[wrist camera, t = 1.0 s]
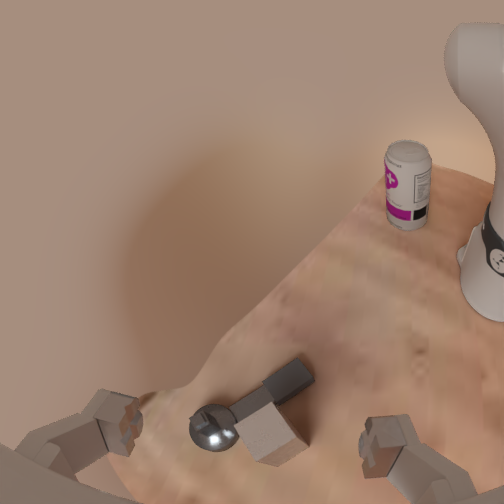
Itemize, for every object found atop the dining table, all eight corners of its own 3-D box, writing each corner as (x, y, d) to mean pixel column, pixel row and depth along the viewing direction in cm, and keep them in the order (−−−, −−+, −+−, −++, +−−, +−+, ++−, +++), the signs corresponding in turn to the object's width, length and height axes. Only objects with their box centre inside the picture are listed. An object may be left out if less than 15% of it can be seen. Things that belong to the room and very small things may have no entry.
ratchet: (207, 459, 38) (186, 454, 33) (188, 421, 43) (166, 410, 38) (321, 389, 41) (315, 374, 36) (293, 354, 46) (284, 335, 41)
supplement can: (389, 234, 55) (388, 166, 44) (384, 204, 60) (380, 139, 49) (431, 231, 52) (437, 163, 42) (422, 202, 57) (424, 136, 47)
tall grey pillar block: (289, 419, 39) (271, 401, 32) (309, 446, 36) (296, 436, 29) (258, 438, 39) (233, 425, 32) (277, 466, 35) (255, 461, 28)
